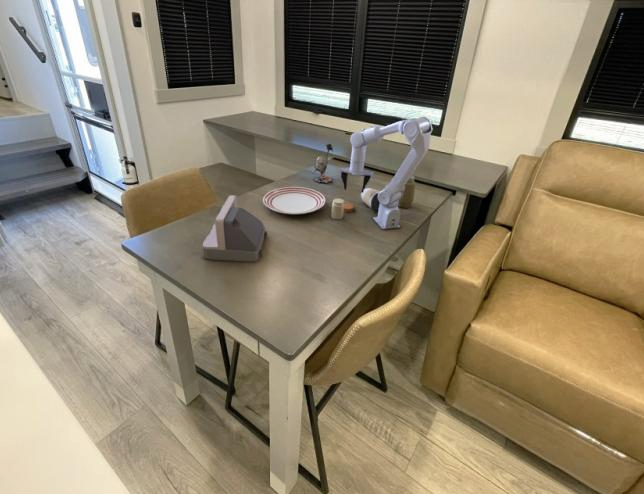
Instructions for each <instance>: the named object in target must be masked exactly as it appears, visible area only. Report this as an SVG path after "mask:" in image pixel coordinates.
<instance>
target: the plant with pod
mask: <svg viewBox="0 0 644 494" xmlns="http://www.w3.org/2000/svg"><path fill="white" fill-rule="evenodd" d="M325 146H326V150H327V154H326V158H325V157H323V156H321V155H318V157H317V158H316V161H315V162H314V165H313V166H314V171H313V172H312V175H314V174H315V173H316V172H317V171H318V173H320V176H318V177H317V178H315V179H314V181H316V182H318V183H321V182H322V183H325V184H328V183H329V182H332V181H334V180H333V179H331V178H329V176H328V175H326V170H327V168H328V163H329V162H328V159H327V158H328V156H329V152H330V151H332V152H334V150H333V149H334V146H333V144H332V143H331V142H329V143H326V145H325Z"/></svg>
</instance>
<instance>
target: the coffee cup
mask: <svg viewBox="0 0 644 494" xmlns="http://www.w3.org/2000/svg"><path fill="white" fill-rule="evenodd" d="M380 191H381V190H378V189H374V188H371V187H365V188H364V192H362V191H361V193H360V198H361V200H362V201H363V202H364V203H365V204H366V205H367V206H368V208H370V209H371V210H372V211H373V212H375V213H378V211H379V205H380V202H379V200H378V193H379V192H380Z"/></svg>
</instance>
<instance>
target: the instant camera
mask: <svg viewBox="0 0 644 494" xmlns="http://www.w3.org/2000/svg"><path fill="white" fill-rule="evenodd" d="M265 226H266V225H264V223H263V221H262V220H260V219H259V218H258V217H256V216H254V215H253V214H252V213H250V212H249V211H247V210H246V209H245V208H243V207H239V206H238V197H237V195H228V197H227V199H226V200H225V202H224V204H223V205H222V206H220V207H219V208H218V211H217V216H216V218H215V220H214V224H213V225H212V226H211V227H212V229H211V230H210V231H209V233H208V235H207V236H206V238H205V239H204V241H203V243H202V247H203V255H204V259H205V260H213V261H235V262H251V263H252V262H257V261H258V260H259V258H260V256H262V254H263V251H262V247H263V244H264V240H265V237H267V236H268V231H267V230H266V227H265Z"/></svg>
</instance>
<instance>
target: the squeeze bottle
mask: <svg viewBox="0 0 644 494" xmlns="http://www.w3.org/2000/svg"><path fill="white" fill-rule="evenodd" d="M415 178H416V177H415V176H414V175H413V174H412V175H411V176H410V178H409V179H408V181H407V182H406V184H405V185H404V187H405V189H404V191H403V196H402V197H401V198H400V199H399V201H398V207H400V208H404V209H407V208H410V207H411V205H412V204H413V203H414V199H415V193H416V192H415V190H416V182H415Z"/></svg>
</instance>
